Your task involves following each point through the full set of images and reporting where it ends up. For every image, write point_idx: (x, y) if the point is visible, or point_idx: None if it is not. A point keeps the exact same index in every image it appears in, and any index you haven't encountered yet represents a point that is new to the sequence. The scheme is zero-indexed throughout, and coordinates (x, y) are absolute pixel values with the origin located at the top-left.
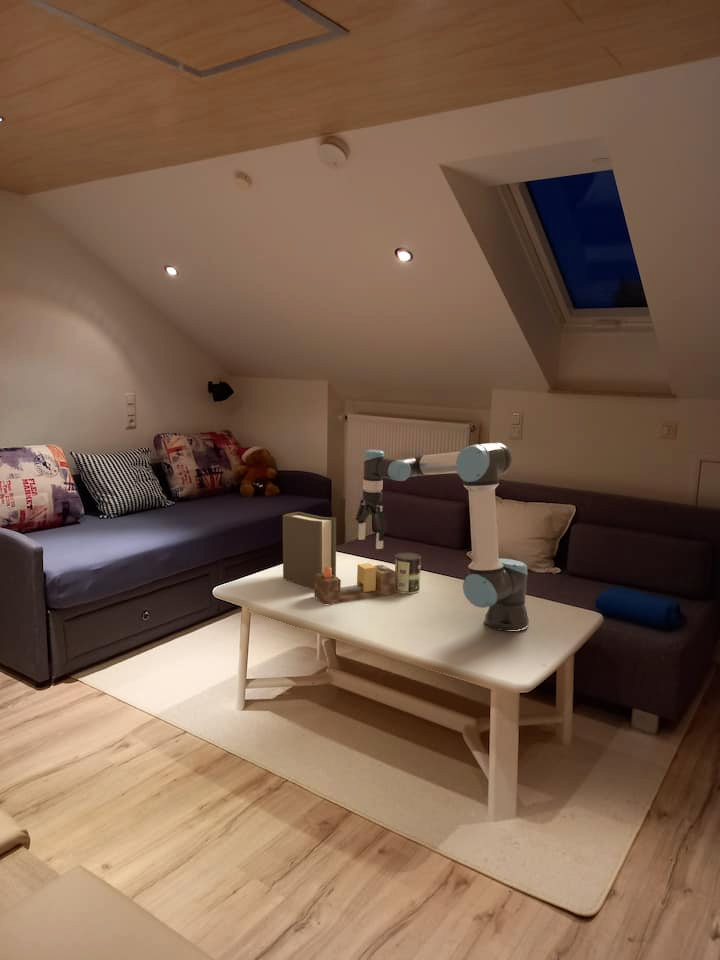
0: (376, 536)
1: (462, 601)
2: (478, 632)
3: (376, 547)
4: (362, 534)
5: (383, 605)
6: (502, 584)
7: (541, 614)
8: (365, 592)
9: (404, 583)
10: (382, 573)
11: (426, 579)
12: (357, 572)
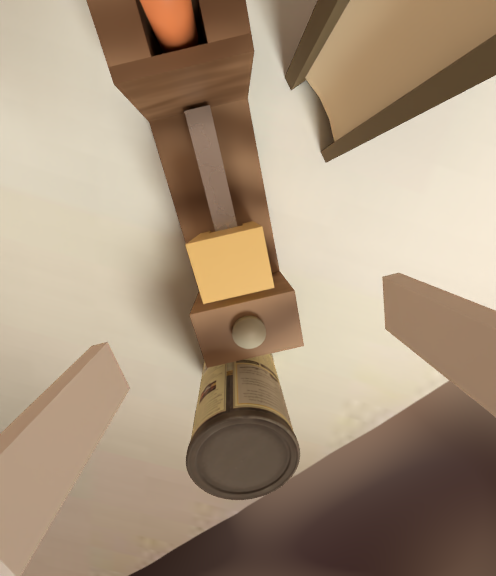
0: (17, 434)
1: (136, 456)
2: None
3: (92, 350)
4: (416, 326)
5: (118, 268)
6: None
7: (51, 554)
8: None
9: (206, 369)
10: (191, 316)
11: (305, 429)
12: (256, 224)
